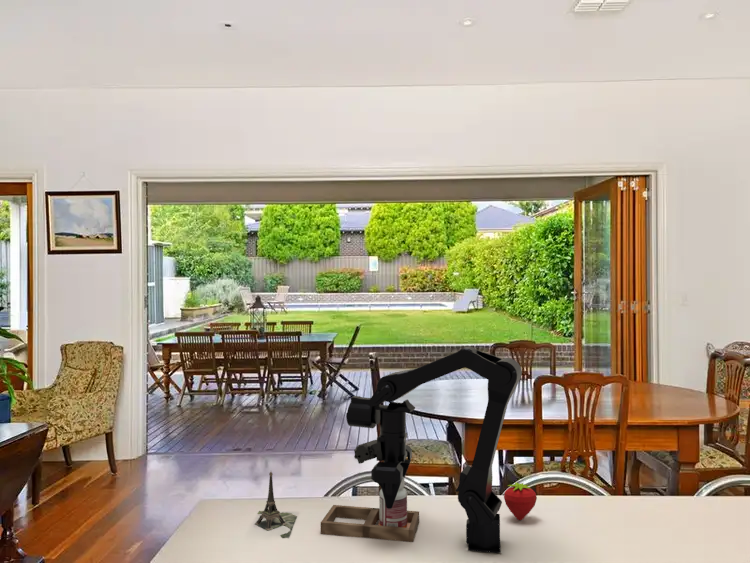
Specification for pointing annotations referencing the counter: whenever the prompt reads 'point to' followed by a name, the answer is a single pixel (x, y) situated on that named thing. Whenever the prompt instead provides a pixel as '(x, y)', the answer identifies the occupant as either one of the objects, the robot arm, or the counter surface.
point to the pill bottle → (394, 509)
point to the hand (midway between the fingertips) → (392, 500)
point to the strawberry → (520, 500)
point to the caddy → (367, 524)
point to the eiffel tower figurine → (275, 515)
